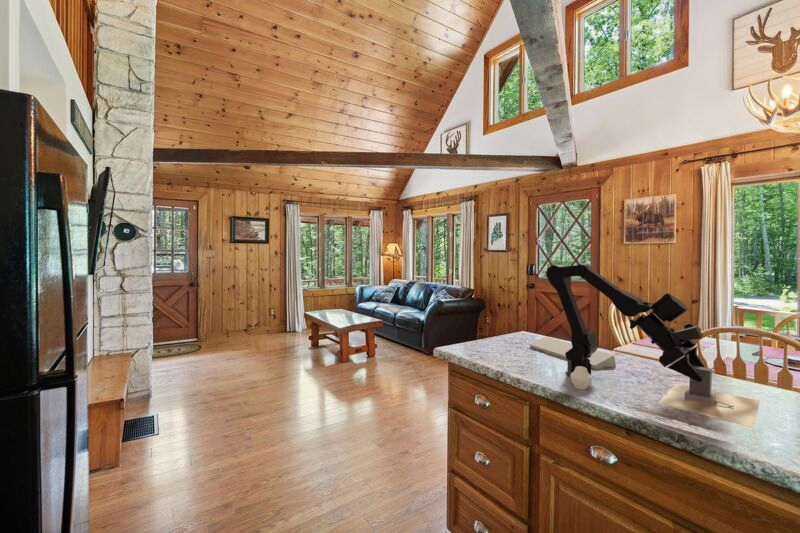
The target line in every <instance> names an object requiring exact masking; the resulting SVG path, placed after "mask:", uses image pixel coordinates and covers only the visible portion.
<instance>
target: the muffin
mask: <svg viewBox="0 0 800 533" xmlns="http://www.w3.org/2000/svg"><path fill="white" fill-rule="evenodd" d="M569 377H570V380H571V382H572V383H573V386H574V388H576V389H577V390H580V391H581V390H582V391H583V390H584V391H585V390H587V389H588V387H589V386H590V384H591V381H593V376H592V374H591V375H590V374H589V373H588V372H587V369H586V368H585V367H583V366H577V367H576V368H575V370H574V371H573V372H572V373H571V374H570V376H569Z"/></svg>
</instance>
